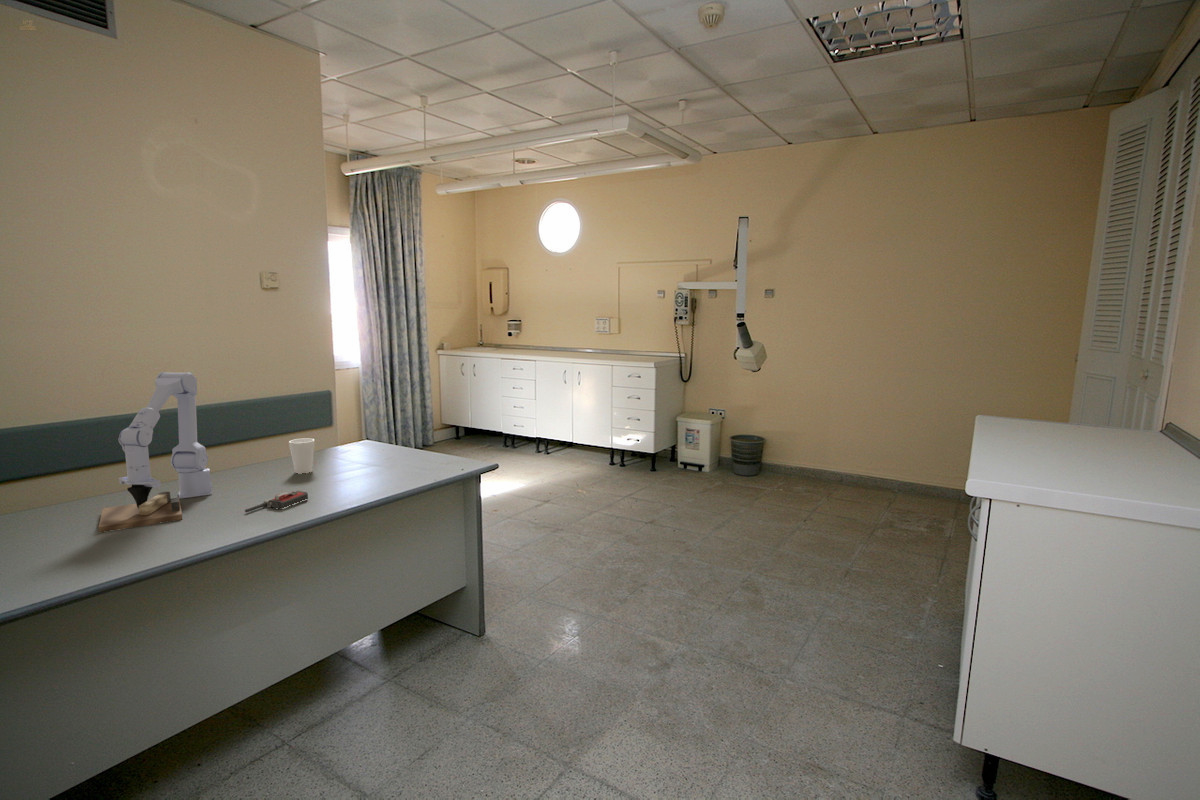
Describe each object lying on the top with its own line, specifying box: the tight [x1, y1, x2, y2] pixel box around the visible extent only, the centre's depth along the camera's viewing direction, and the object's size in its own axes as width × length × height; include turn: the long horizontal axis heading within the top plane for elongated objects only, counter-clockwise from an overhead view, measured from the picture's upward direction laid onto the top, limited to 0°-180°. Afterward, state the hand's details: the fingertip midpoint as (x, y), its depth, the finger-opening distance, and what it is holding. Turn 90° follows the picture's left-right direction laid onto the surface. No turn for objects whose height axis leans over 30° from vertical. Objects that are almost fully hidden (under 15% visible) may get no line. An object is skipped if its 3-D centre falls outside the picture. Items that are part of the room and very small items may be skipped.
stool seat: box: [98, 497, 183, 533], centre depth 187 cm, size 20×20×5 cm
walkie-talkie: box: [244, 490, 309, 513], centre depth 199 cm, size 9×4×20 cm
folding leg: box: [139, 491, 172, 515], centre depth 189 cm, size 15×3×3 cm, turn 12°
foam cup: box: [288, 437, 316, 475], centre depth 240 cm, size 10×9×13 cm
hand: (142, 507), depth 186 cm, fingers closed
